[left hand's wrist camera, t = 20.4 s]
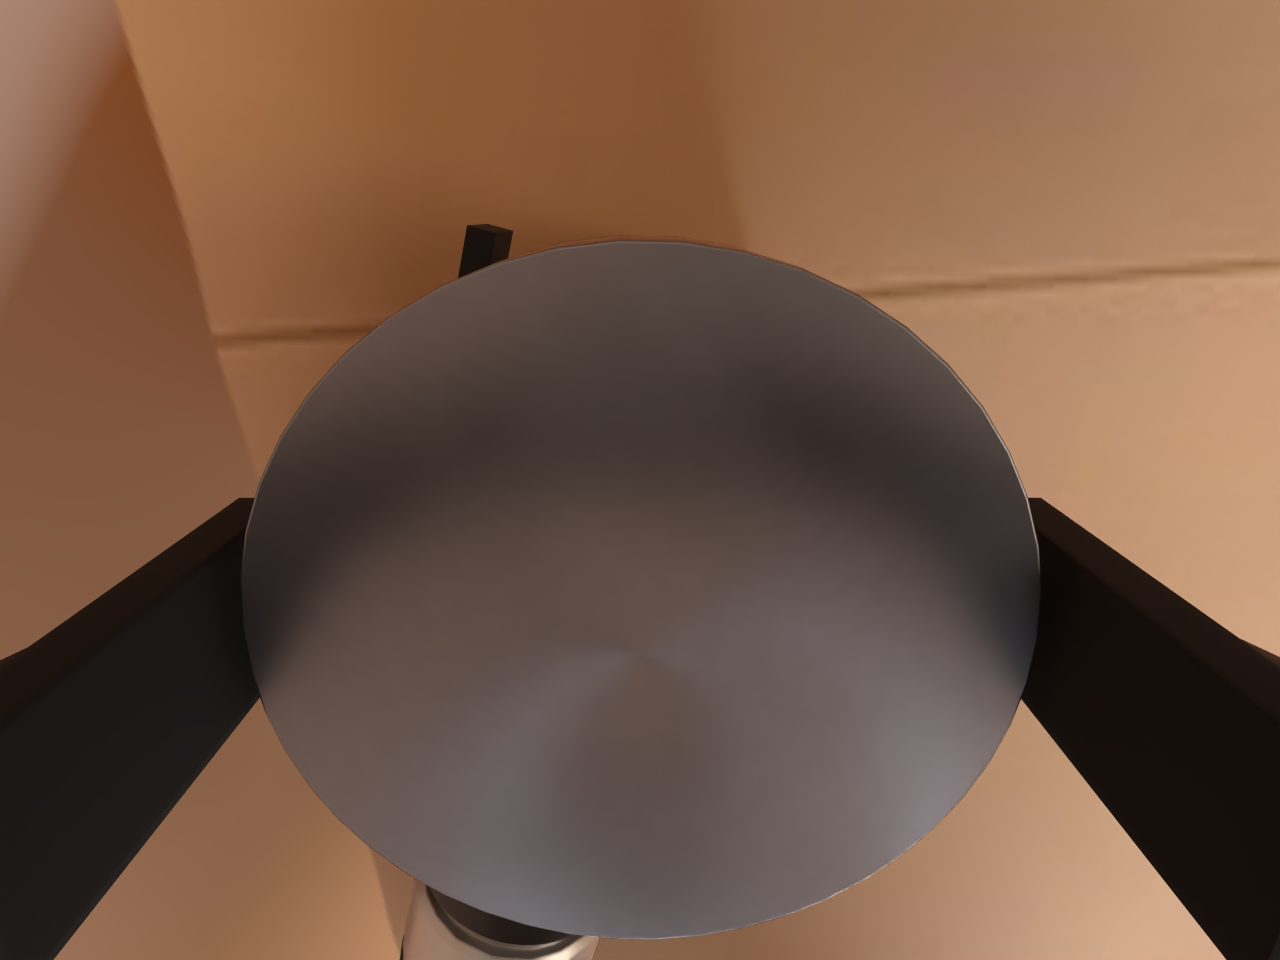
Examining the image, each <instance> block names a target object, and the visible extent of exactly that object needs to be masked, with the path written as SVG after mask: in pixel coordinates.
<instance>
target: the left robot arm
mask: <svg viewBox="0 0 1280 960" xmlns="http://www.w3.org/2000/svg"><path fill="white" fill-rule="evenodd" d="M254 499H255V498H238V499H237V500H236V501H234V502H233V503H231V504H230V505H229V506H227V507H226V508H224V509H223V510H221V511H220V512H219V513H217V514H216V515H214V516H213V517H212V518H210V519H209V520H207V521H206V522H205V523H203V524H202V525H200V526H199V527H197V528H196V529H195V530H193V531H192V532H190V533H189V534H188V535H186V536H185V537H183V538H182V539H180V540H179V541H178V542H176V543H175V544H173V545H172V546H171V547H169V548H168V549H166V550H165V551H164V552H162V553H161V554H159V555H158V556H157V557H155V558H154V559H152V560H151V561H149V562H148V563H147V564H145V565H144V566H142V567H141V568H140V569H138V570H137V571H135V572H134V573H132V574H131V575H130V576H128V577H127V578H125V579H124V580H123V581H121V582H120V583H118V584H117V585H116V586H114V587H113V588H111V589H110V590H109V591H107V592H106V593H104V594H103V595H101V596H100V597H99V598H97V599H96V600H94V601H93V602H92V603H90V604H89V605H87V606H86V607H85V608H83V609H82V610H80V611H79V612H77V613H76V614H75V615H73V616H72V617H70V618H69V619H67V620H66V621H65V622H63V623H62V624H60V625H59V626H58V627H56V628H55V629H53V630H52V631H51V632H49V633H48V634H46V635H45V636H44V637H42V638H41V639H39V640H38V641H36V642H35V643H34V644H32V645H31V646H29V647H28V648H26V649H23V650H21V651H19V652H17V653H15V654H13V655H11V656H9V657H6V658H4V659H2V660H0V960H54V958H55V957H56V956H57V955H58V953H59V952H60V951H61V950H62V948H63V947H64V946H65V944H66V943H67V942H68V941H69V939H70V938H71V937H72V936H73V934H74V933H75V932H76V930H77V929H78V928H79V927H80V925H81V924H82V923H83V922H84V920H85V919H86V918H87V917H88V915H89V914H90V913H91V911H92V910H93V909H94V908H95V906H96V905H97V904H98V903H99V901H100V900H101V899H102V897H103V896H104V895H105V894H106V892H107V891H108V890H109V889H110V887H111V886H112V885H113V883H114V882H115V881H116V880H117V878H118V877H119V876H120V875H121V873H122V872H123V871H124V869H125V868H126V867H127V866H128V864H129V863H130V862H131V861H132V859H133V858H134V857H135V855H136V854H137V853H138V852H139V850H140V849H141V848H142V847H143V845H144V844H145V843H146V842H147V840H148V839H149V838H150V836H151V835H152V834H153V833H154V831H155V830H156V829H157V828H158V826H159V825H160V824H161V822H162V821H163V820H164V819H165V817H166V816H167V815H168V814H169V812H170V811H171V810H172V808H173V807H174V806H175V805H176V803H177V802H178V801H179V799H180V798H181V797H182V796H183V794H184V793H185V792H186V791H187V789H188V788H189V787H190V786H191V784H192V783H193V782H194V780H195V779H196V778H197V777H198V775H199V774H200V773H201V772H202V770H203V769H204V768H205V767H206V765H207V764H208V763H209V761H210V760H211V759H212V758H213V756H214V755H215V754H216V752H217V751H218V750H219V749H220V747H221V746H222V745H223V744H224V742H225V741H226V740H227V739H228V737H229V736H230V735H231V733H232V732H233V731H234V730H235V728H236V727H237V726H238V724H239V723H240V722H241V721H242V719H243V718H244V717H245V716H246V714H247V713H248V712H249V711H250V709H251V708H252V707H253V705H254V704H255V703H256V702H257V700H258V699H259V698H260V695H259V692H258V690H257V687H256V684H255V681H254V678H253V675H252V672H251V669H250V664H249V659H248V653H247V648H246V643H245V638H244V633H243V627H242V611H241V586H240V577H241V568H242V559H243V550H244V541H245V533H246V528H247V524H248V521H249V517H250V514H251V510H252V506H253V503H254ZM1028 501H1029V505H1030V510H1031V514H1032V519H1033V523H1034V528H1035V532H1036V536H1037V541H1038V545H1039V559H1040V575H1041V590H1042V596H1041V607H1040V619H1039V630H1038V640H1037V644H1036V648H1035V652H1034V657H1033V661H1032V665H1031V669H1030V673H1029V678H1028V682H1027V685H1026V687H1025V690H1024V692H1023V695H1022V697H1021V699H1022V700H1023V702H1024V703H1025V704H1026V705H1027V707H1028V708H1029V709H1030V711H1031V712H1032V713H1033V714H1034V716H1035V717H1036V718H1037V719H1038V721H1039V722H1040V723H1041V725H1042V726H1043V727H1044V728H1045V730H1046V731H1047V732H1048V733H1049V735H1050V736H1051V737H1052V739H1053V740H1054V741H1055V742H1056V744H1057V745H1058V746H1059V747H1060V749H1061V750H1062V751H1063V753H1064V754H1065V755H1066V756H1067V758H1068V759H1069V760H1070V761H1071V763H1072V764H1073V765H1074V767H1075V768H1076V769H1077V770H1078V772H1079V773H1080V774H1081V775H1082V777H1083V778H1084V779H1085V780H1086V782H1087V783H1088V784H1089V786H1090V787H1091V788H1092V789H1093V791H1094V792H1095V793H1096V794H1097V796H1098V797H1099V798H1100V800H1101V801H1102V802H1103V803H1104V805H1105V806H1106V807H1107V808H1108V810H1109V811H1110V812H1111V814H1112V815H1113V816H1114V817H1115V819H1116V820H1117V821H1118V822H1119V824H1120V825H1121V826H1122V828H1123V829H1124V830H1125V831H1126V833H1127V834H1128V835H1129V836H1130V838H1131V839H1132V840H1133V842H1134V843H1135V844H1136V845H1137V847H1138V848H1139V849H1140V850H1141V852H1142V853H1143V854H1144V855H1145V857H1146V858H1147V859H1148V861H1149V862H1150V863H1151V864H1152V866H1153V867H1154V868H1155V869H1156V871H1157V872H1158V873H1159V875H1160V876H1161V877H1162V878H1163V880H1164V881H1165V882H1166V883H1167V885H1168V886H1169V887H1170V889H1171V890H1172V891H1173V892H1174V894H1175V895H1176V896H1177V897H1178V899H1179V900H1180V901H1181V903H1182V904H1183V905H1184V906H1185V908H1186V909H1187V910H1188V911H1189V913H1190V914H1191V915H1192V917H1193V918H1194V919H1195V920H1196V922H1197V923H1198V924H1199V925H1200V927H1201V928H1202V929H1203V930H1204V932H1205V933H1206V934H1207V936H1208V937H1209V938H1210V939H1211V941H1212V942H1213V943H1214V944H1215V946H1216V947H1217V948H1218V950H1219V951H1220V952H1221V953H1222V955H1223V956H1224V957H1225V958H1226V960H1280V657H1278V656H1276V655H1274V654H1272V653H1270V652H1268V651H1265V650H1263V649H1261V648H1259V647H1257V646H1255V645H1253V644H1250V643H1248V642H1246V641H1244V640H1242V639H1239V638H1238V637H1237V636H1235V635H1234V634H1232V633H1231V632H1229V631H1228V630H1227V629H1225V628H1224V627H1222V626H1221V625H1220V624H1218V623H1217V622H1215V621H1214V620H1213V619H1211V618H1210V617H1208V616H1207V615H1205V614H1204V613H1203V612H1201V611H1200V610H1198V609H1197V608H1196V607H1194V606H1193V605H1191V604H1190V603H1188V602H1187V601H1186V600H1184V599H1183V598H1181V597H1180V596H1179V595H1177V594H1176V593H1174V592H1173V591H1172V590H1170V589H1169V588H1167V587H1166V586H1164V585H1163V584H1162V583H1160V582H1159V581H1157V580H1156V579H1155V578H1153V577H1152V576H1150V575H1149V574H1148V573H1146V572H1145V571H1143V570H1142V569H1140V568H1139V567H1138V566H1136V565H1135V564H1133V563H1132V562H1131V561H1129V560H1128V559H1126V558H1125V557H1124V556H1122V555H1121V554H1119V553H1118V552H1116V551H1115V550H1114V549H1112V548H1111V547H1109V546H1108V545H1107V544H1105V543H1104V542H1102V541H1101V540H1100V539H1098V538H1097V537H1095V536H1094V535H1092V534H1091V533H1090V532H1088V531H1087V530H1085V529H1084V528H1083V527H1081V526H1080V525H1078V524H1077V523H1075V522H1074V521H1073V520H1071V519H1070V518H1068V517H1067V516H1066V515H1064V514H1063V513H1061V512H1060V511H1059V510H1057V509H1056V508H1054V507H1053V506H1051V505H1050V504H1049V503H1047V502H1046V501H1044V500H1043V499H1042V498H1028Z"/></svg>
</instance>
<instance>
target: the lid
mask: <svg viewBox="0 0 1280 960" xmlns="http://www.w3.org/2000/svg"><path fill="white" fill-rule="evenodd" d="M240 586H241V611H242V627H243V633H244V638H245V643H246V648H247V653H248V659H249V664H250V669H251V672H252V675H253V678H254V681H255V684H256V687H257V690H258V692H259V695H260V698H261V701H262V704H263V707H264V710H265V712H266V714H267V716H268V718H269V720H270V722H271V724H272V726H273V728H274V730H275V732H276V734H277V736H278V738H279V740H280V742H281V744H282V746H283V748H284V750H285V751H286V753H287V755H288V756H289V757H290V759H291V760H292V762H293V763H294V765H295V766H296V768H297V769H298V771H299V772H300V773H301V775H302V776H303V778H304V779H305V781H306V782H307V784H308V785H309V787H310V788H311V789H312V790H313V791H314V792H315V793H316V795H317V796H318V797H319V798H320V799H321V800H322V801H323V802H324V804H325V805H326V806H327V807H328V808H329V809H330V810H331V811H332V813H333V814H334V815H335V816H336V817H337V818H338V819H339V820H340V821H341V822H342V823H343V824H344V825H345V826H346V827H348V828H349V829H350V830H351V831H352V832H353V833H354V834H355V835H357V836H358V837H359V838H360V839H361V840H362V841H363V842H364V843H366V844H367V845H368V846H369V847H370V848H371V849H372V850H374V851H375V852H377V853H378V854H380V855H381V856H382V857H384V858H385V859H387V860H388V861H390V862H391V863H392V864H394V865H395V866H397V867H398V868H399V869H401V870H402V871H404V872H405V873H407V874H408V875H410V876H412V877H414V878H415V879H417V880H419V881H421V882H423V883H424V884H426V885H428V886H430V887H432V888H433V889H435V890H437V891H439V892H441V893H442V894H444V895H446V896H449V897H451V898H453V899H456V900H458V901H460V902H463V903H465V904H467V905H470V906H472V907H475V908H477V909H479V910H482V911H484V912H487V913H490V914H493V915H496V916H499V917H503V918H506V919H509V920H512V921H515V922H519V923H522V924H525V925H529V926H534V927H539V928H544V929H548V930H553V931H558V932H563V933H568V934H575V935H584V936H593V937H603V938H612V939H665V938H677V937H689V936H700V935H706V934H712V933H717V932H723V931H729V930H734V929H740V928H744V927H748V926H751V925H755V924H758V923H762V922H766V921H769V920H773V919H776V918H780V917H784V916H786V915H789V914H791V913H794V912H796V911H799V910H802V909H804V908H807V907H809V906H812V905H814V904H817V903H820V902H822V901H825V900H827V899H828V898H830V897H832V896H834V895H836V894H838V893H840V892H842V891H844V890H846V889H848V888H850V887H852V886H854V885H856V884H858V883H860V882H862V881H863V880H865V879H866V878H868V877H870V876H871V875H873V874H874V873H876V872H877V871H879V870H880V869H882V868H883V867H885V866H886V865H888V864H889V863H891V862H892V861H894V860H895V859H897V858H899V857H900V856H901V855H902V854H904V853H905V852H906V851H907V850H908V849H910V848H911V847H912V846H913V845H914V844H916V843H917V842H918V841H919V840H920V839H922V838H923V837H924V836H925V835H927V834H928V833H929V832H930V831H931V830H933V829H934V828H935V827H936V825H937V824H938V823H939V822H940V821H941V820H942V819H943V818H944V817H945V816H946V815H947V814H948V813H949V812H950V811H951V810H952V809H953V808H954V807H955V806H956V805H957V804H958V802H959V801H960V800H961V799H962V798H963V797H964V796H965V794H966V793H967V792H968V790H969V789H970V788H971V786H972V785H973V784H974V782H975V781H976V780H977V778H978V777H979V776H980V774H981V773H982V772H983V770H984V769H985V768H986V766H987V765H988V764H989V762H990V760H991V759H992V757H993V755H994V753H995V752H996V750H997V748H998V746H999V744H1000V743H1001V741H1002V739H1003V737H1004V736H1005V734H1006V732H1007V730H1008V728H1009V727H1010V725H1011V723H1012V720H1013V718H1014V715H1015V713H1016V710H1017V707H1018V705H1019V702H1020V700H1021V697H1022V695H1023V692H1024V690H1025V687H1026V685H1027V682H1028V678H1029V673H1030V669H1031V665H1032V661H1033V657H1034V652H1035V648H1036V644H1037V640H1038V630H1039V619H1040V607H1041V596H1042V590H1041V575H1040V559H1039V545H1038V541H1037V536H1036V532H1035V528H1034V523H1033V519H1032V514H1031V510H1030V505H1029V501H1028V497H1027V494H1026V492H1025V489H1024V487H1023V484H1022V482H1021V479H1020V477H1019V474H1018V472H1017V469H1016V467H1015V464H1014V462H1013V459H1012V457H1011V454H1010V451H1009V450H1008V448H1007V446H1006V445H1005V443H1004V441H1003V440H1002V438H1001V436H1000V434H999V433H998V431H997V429H996V428H995V426H994V424H993V423H992V421H991V419H990V417H989V416H988V414H987V412H986V411H985V409H984V407H983V406H982V405H981V403H980V402H979V401H978V400H977V398H976V397H975V396H974V395H973V394H972V392H971V391H970V390H969V389H968V388H967V386H966V385H965V384H964V383H963V381H962V380H961V379H960V378H959V377H958V375H957V374H956V373H955V372H954V370H953V369H952V368H951V367H950V366H949V364H948V363H946V362H945V361H944V360H943V359H942V358H941V357H940V356H939V355H938V354H936V353H935V352H934V351H933V350H932V349H931V348H930V347H929V346H927V345H926V344H925V343H924V342H923V341H922V340H921V339H920V338H919V337H917V336H916V335H915V334H914V333H913V332H912V331H911V330H910V329H909V328H907V327H906V326H905V325H903V324H902V323H900V322H899V321H897V320H896V319H894V318H893V317H891V316H890V315H888V314H887V313H885V312H884V311H882V310H881V309H879V308H878V307H876V306H875V305H873V304H871V303H870V302H868V301H867V300H865V299H864V298H862V297H861V296H859V295H858V294H856V293H854V292H852V291H849V290H847V289H845V288H843V287H841V286H839V285H837V284H835V283H832V282H830V281H828V280H826V279H824V278H822V277H820V276H818V275H815V274H813V273H811V272H809V271H807V270H805V269H802V268H799V267H796V266H793V265H790V264H788V263H785V262H782V261H779V260H775V259H772V258H769V257H766V256H762V255H759V254H756V253H753V252H749V251H746V250H743V249H740V248H736V247H733V246H730V245H725V244H719V243H713V242H707V241H700V240H694V239H688V238H682V237H673V236H626V235H622V236H613V237H605V238H596V239H588V240H579V241H571V242H566V243H562V244H559V245H555V246H551V247H547V248H543V249H539V250H536V251H532V252H528V253H524V254H520V255H517V256H514V257H511V258H508V259H505V260H502V261H499V262H496V263H494V264H491V265H489V266H487V267H484V268H482V269H479V270H477V271H475V272H472V273H470V274H467V275H465V276H463V277H460V278H458V279H456V280H453V281H451V282H448V283H446V284H444V285H441V286H439V287H438V288H436V289H434V290H433V291H431V292H429V293H428V294H426V295H424V296H423V297H421V298H419V299H418V300H416V301H414V302H413V303H411V304H409V305H408V306H406V307H404V308H403V309H401V310H399V311H398V312H396V313H394V314H393V315H391V316H389V317H388V318H387V319H386V320H384V321H383V322H382V323H381V324H380V325H378V326H377V327H376V328H375V329H373V330H372V331H371V332H370V333H369V334H367V335H366V336H365V337H364V338H362V339H361V340H360V341H359V342H358V343H356V344H355V345H354V346H353V347H351V348H350V349H349V350H348V351H347V352H345V353H344V355H343V356H342V357H341V358H340V359H339V360H338V361H337V362H336V363H335V365H334V366H333V367H332V368H331V369H330V370H329V371H328V372H327V373H326V375H325V376H324V377H323V378H322V379H321V380H320V381H319V382H318V383H317V385H316V386H315V387H314V388H313V389H312V390H311V391H310V392H309V393H308V395H307V396H306V398H305V400H304V401H303V403H302V404H301V406H300V407H299V409H298V410H297V412H296V413H295V415H294V416H293V418H292V419H291V421H290V422H289V424H288V425H287V427H286V428H285V430H284V432H283V433H282V435H281V436H280V438H279V440H278V442H277V444H276V447H275V449H274V451H273V453H272V455H271V458H270V460H269V462H268V464H267V466H266V469H265V471H264V473H263V475H262V478H261V480H260V482H259V485H258V488H257V492H256V495H255V499H254V503H253V506H252V510H251V514H250V517H249V521H248V524H247V528H246V533H245V541H244V550H243V559H242V568H241V577H240Z"/></svg>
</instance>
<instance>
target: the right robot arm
mask: <svg viewBox="0 0 1280 960" xmlns="http://www.w3.org/2000/svg"><path fill="white" fill-rule="evenodd" d="M512 234H513V231H511V230H508V229H504V228H500V227H497V226H493V225H489V224H481V225H467V230H466V235H465V241H464V247H463V253H462V259H461V265H460V270H459V276H458V278H460V277H463V276H465V275H467V274H470V273H472V272H475V271H477V270H479V269H482V268H484V267H487V266H489V265H491V264H494V263H496V262H499V261H502V260H505V259H508V255H509V250H510V245H511V240H512ZM599 938H600V937H593V936H584V935H575V934H568V933H563V932H558V931H553V930H548V929H544V928H539V927H534V926H529V925H525V924H522V923H519V922H515V921H512V920H509V919H506V918H503V917H499V916H496V915H493V914H490V913H487V912H484V911H482V910H479V909H477V908H475V907H472V906H470V905H467V904H465V903H463V902H460V901H458V900H456V899H453V898H451V897H449V896H446V895H444V894H442V893H441V892H439V891H437V890H435V889H433V888H432V887H430V886H428V885H426V884H424V883H423V882H421V881H419V880H417V879H415V880H414V885H413V890H412V895H411V900H410V905H409V910H408V915H407V920H406V926H405V933H404V936H403V941H402V948H401V956H400V960H592V958H593V955H594V952H595V949H596V946H597V944H598V941H599Z"/></svg>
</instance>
